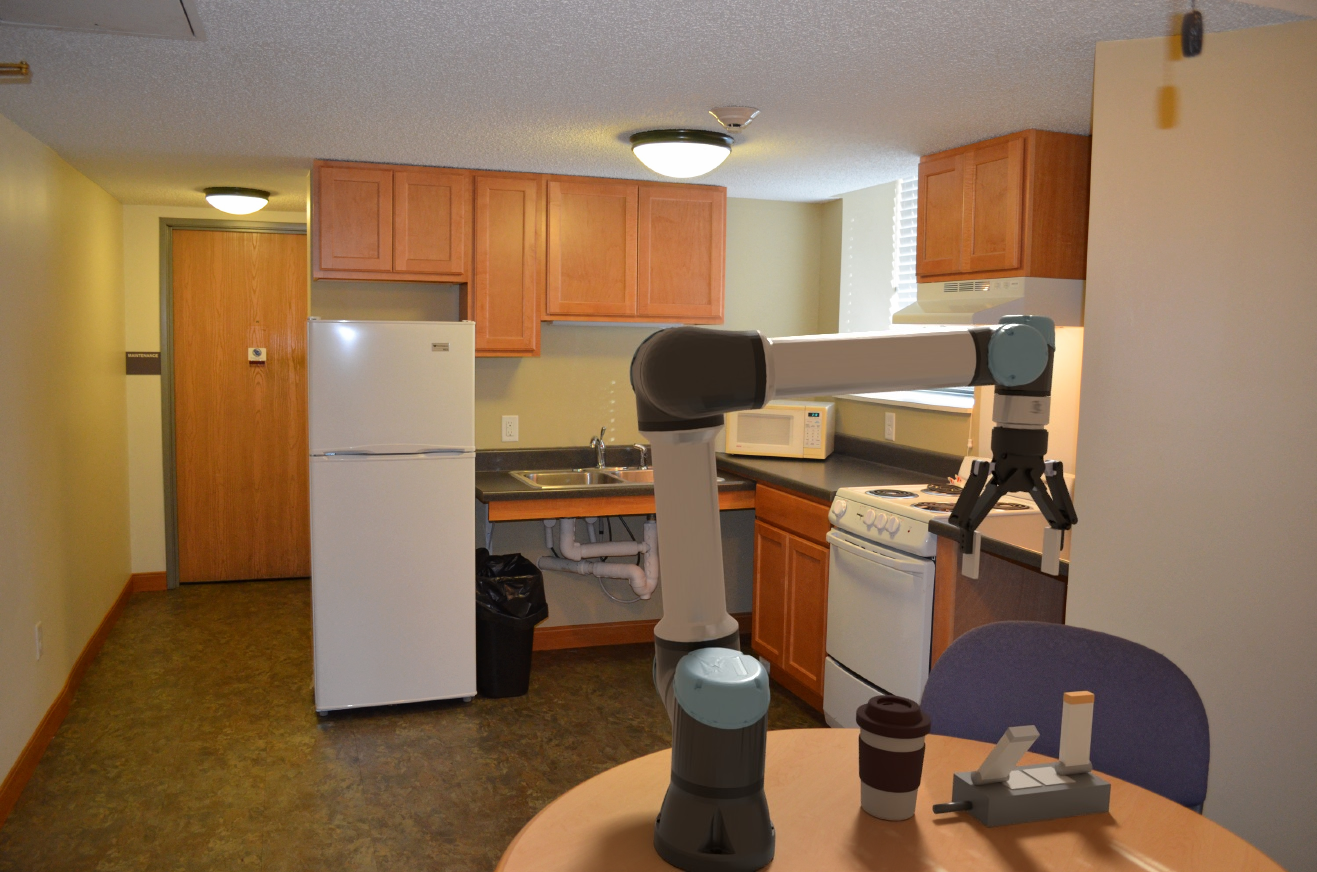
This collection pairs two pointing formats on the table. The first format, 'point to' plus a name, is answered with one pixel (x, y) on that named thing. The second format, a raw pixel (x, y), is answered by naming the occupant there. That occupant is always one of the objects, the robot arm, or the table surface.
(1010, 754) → the grey-capped paddle
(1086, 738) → the orange-capped paddle
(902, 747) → the coffee cup
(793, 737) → the table surface
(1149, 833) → the table surface
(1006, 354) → the robot arm
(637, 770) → the table surface
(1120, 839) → the table surface
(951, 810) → the power strip
